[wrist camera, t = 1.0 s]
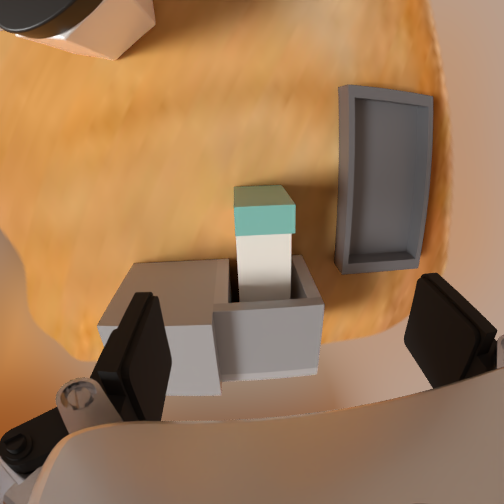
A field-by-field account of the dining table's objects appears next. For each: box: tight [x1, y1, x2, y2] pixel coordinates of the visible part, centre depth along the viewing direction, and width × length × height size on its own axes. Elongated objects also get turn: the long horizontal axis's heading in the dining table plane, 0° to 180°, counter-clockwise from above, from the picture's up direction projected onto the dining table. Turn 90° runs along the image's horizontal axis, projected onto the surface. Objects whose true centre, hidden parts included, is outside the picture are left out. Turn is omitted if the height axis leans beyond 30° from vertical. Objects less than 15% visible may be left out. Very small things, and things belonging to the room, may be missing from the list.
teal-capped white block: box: [234, 185, 296, 302], centre depth 26 cm, size 11×4×6 cm, turn 2°
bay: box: [97, 255, 325, 396], centre depth 26 cm, size 7×16×10 cm, turn 92°
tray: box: [334, 85, 433, 274], centre depth 26 cm, size 16×8×2 cm, turn 2°
